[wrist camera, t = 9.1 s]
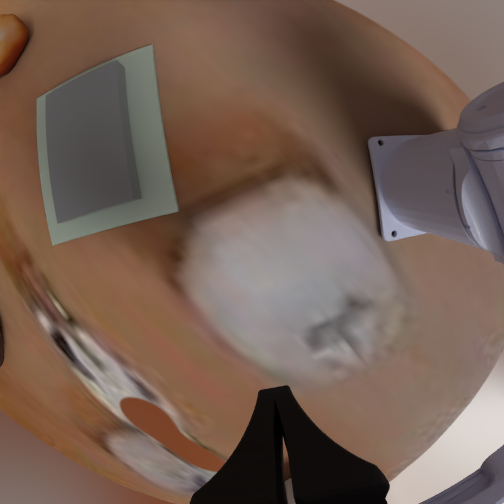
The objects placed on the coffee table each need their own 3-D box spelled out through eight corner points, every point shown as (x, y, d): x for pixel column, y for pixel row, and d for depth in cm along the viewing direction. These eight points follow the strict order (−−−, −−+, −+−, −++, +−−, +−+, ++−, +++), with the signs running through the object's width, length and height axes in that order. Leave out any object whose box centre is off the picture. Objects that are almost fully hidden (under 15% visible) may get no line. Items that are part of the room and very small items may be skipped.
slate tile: (116, 59, 15) (45, 95, 15) (133, 199, 17) (57, 223, 17) (125, 68, 17) (56, 100, 17) (142, 198, 19) (69, 221, 19)
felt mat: (153, 46, 17) (152, 44, 16) (179, 211, 19) (177, 211, 19) (39, 99, 17) (36, 98, 16) (55, 244, 20) (52, 245, 19)
